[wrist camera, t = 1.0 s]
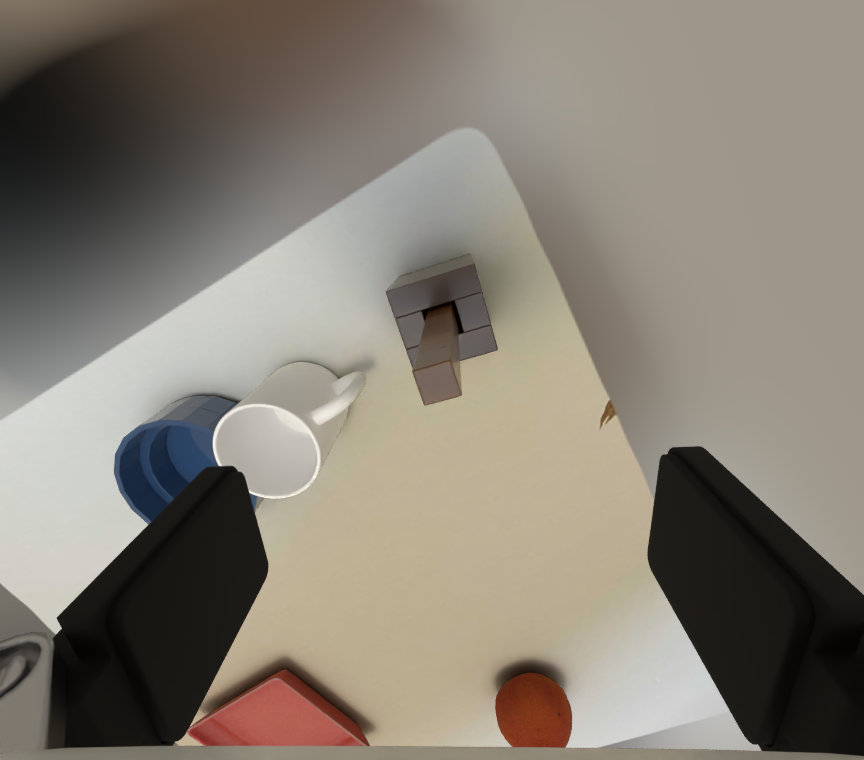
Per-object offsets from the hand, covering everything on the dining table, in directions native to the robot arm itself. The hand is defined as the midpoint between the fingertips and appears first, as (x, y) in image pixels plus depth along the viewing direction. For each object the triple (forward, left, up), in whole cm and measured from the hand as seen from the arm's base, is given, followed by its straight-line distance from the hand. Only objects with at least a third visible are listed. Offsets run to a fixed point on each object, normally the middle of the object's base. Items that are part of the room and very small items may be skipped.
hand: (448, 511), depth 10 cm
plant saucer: (+49, -39, -30) cm, 70 cm away
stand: (0, -1, -30) cm, 30 cm away
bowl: (+8, -28, -30) cm, 42 cm away
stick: (0, -1, -30) cm, 30 cm away
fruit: (+50, -5, -30) cm, 59 cm away
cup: (+5, -15, -30) cm, 34 cm away
